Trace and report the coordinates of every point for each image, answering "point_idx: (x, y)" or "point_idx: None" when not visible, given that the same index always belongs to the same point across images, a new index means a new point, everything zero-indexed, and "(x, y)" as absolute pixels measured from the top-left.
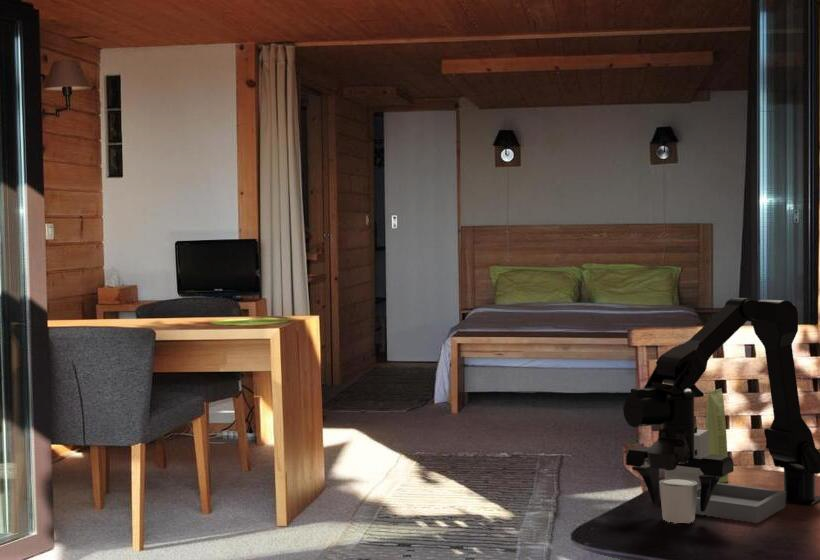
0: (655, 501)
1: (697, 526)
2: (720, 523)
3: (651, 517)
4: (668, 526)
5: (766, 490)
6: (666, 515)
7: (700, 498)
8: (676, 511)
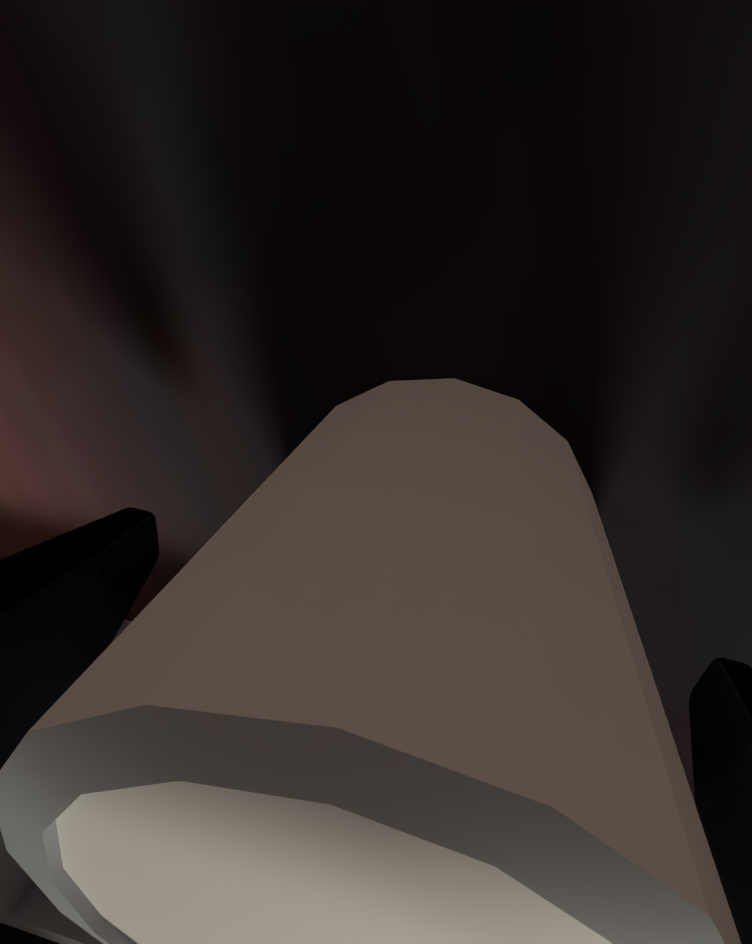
0: (723, 691)
1: (201, 344)
2: (105, 505)
3: (726, 524)
4: (471, 203)
5: (69, 935)
6: (535, 441)
7: (28, 589)
8: (386, 429)
